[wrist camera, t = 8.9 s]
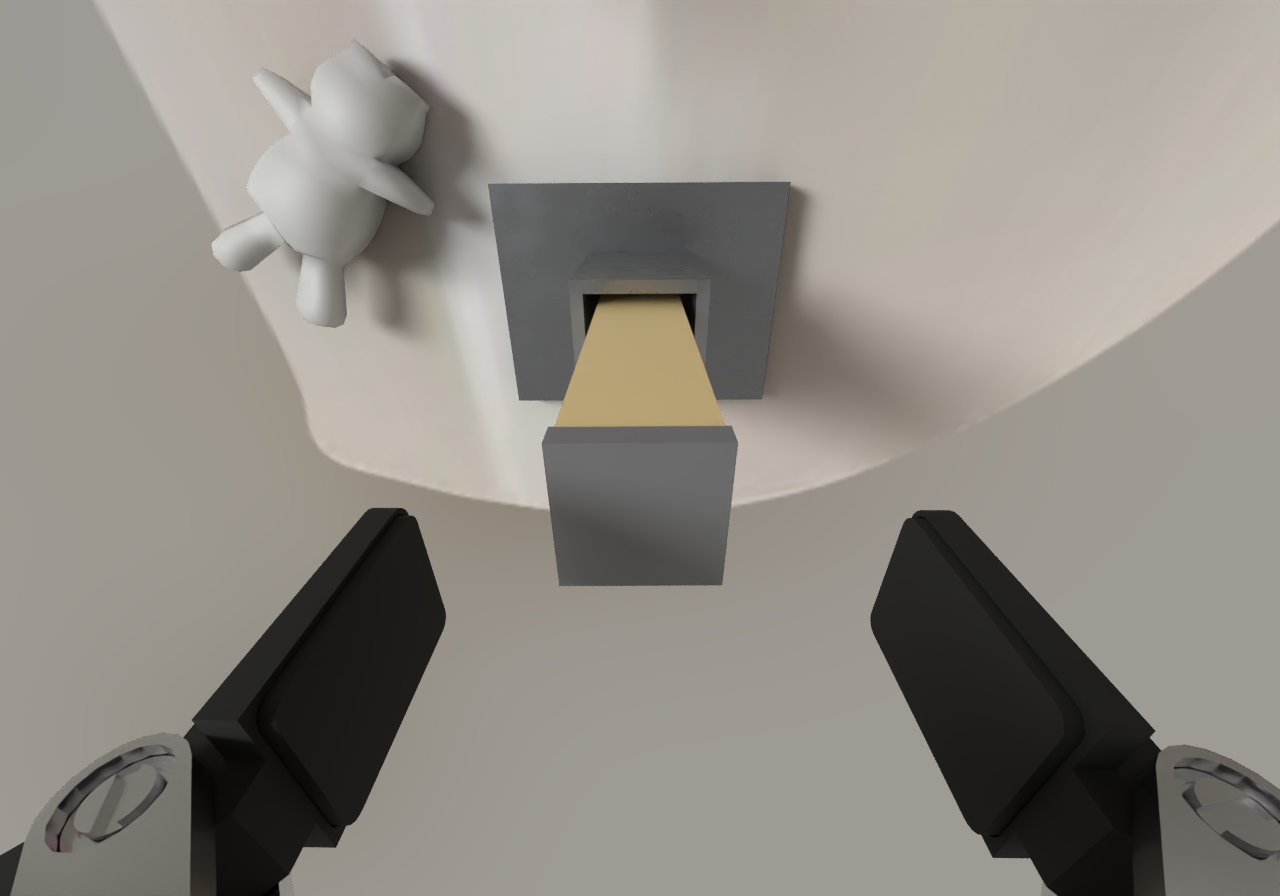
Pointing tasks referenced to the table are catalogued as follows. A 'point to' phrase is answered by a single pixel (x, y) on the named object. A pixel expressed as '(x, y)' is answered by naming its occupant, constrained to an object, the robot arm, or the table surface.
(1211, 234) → the table surface
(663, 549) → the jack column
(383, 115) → the grey toy animal
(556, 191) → the sleeve
